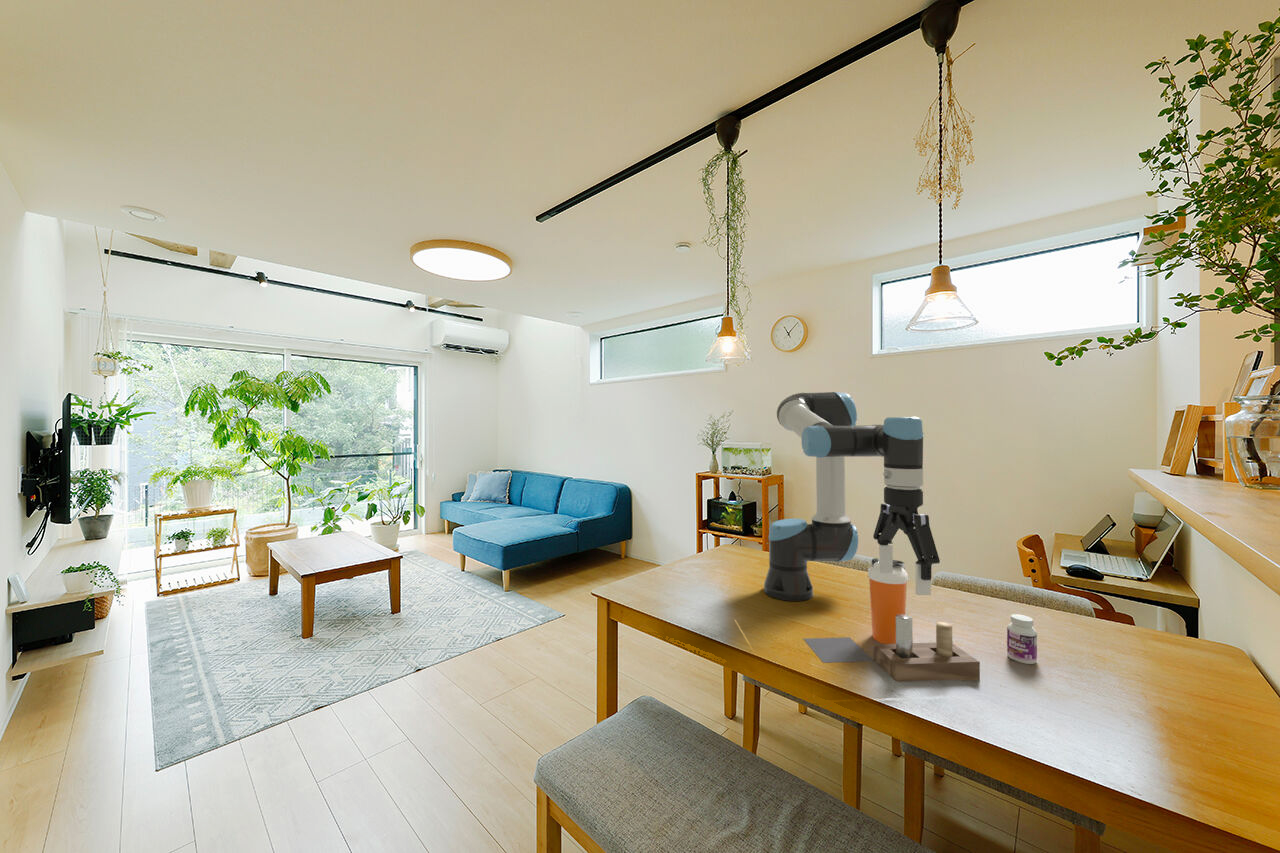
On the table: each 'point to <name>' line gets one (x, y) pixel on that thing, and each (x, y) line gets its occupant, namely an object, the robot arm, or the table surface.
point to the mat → (837, 650)
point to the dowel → (944, 639)
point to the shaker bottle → (886, 599)
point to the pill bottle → (1022, 639)
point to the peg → (904, 636)
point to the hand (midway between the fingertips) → (903, 583)
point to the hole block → (927, 664)
